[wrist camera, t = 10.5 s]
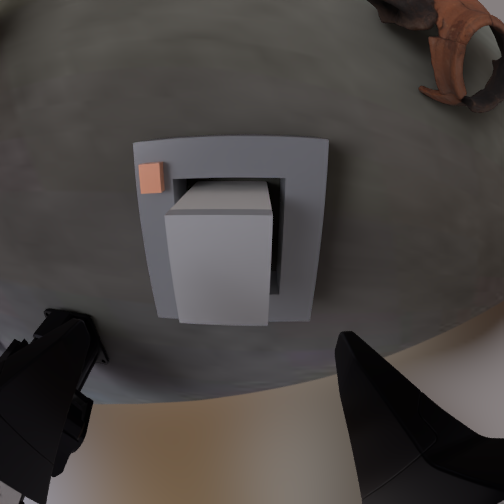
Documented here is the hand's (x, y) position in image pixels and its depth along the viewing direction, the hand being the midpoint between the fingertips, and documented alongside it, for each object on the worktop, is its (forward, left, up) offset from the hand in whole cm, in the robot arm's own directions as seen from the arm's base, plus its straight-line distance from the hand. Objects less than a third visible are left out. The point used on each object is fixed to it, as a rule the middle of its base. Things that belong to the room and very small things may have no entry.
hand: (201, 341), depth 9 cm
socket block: (0, 0, -11) cm, 11 cm away
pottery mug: (+15, -13, -11) cm, 23 cm away
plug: (0, 0, -11) cm, 11 cm away
